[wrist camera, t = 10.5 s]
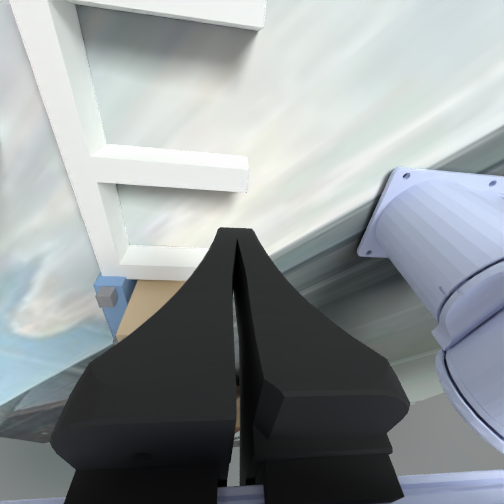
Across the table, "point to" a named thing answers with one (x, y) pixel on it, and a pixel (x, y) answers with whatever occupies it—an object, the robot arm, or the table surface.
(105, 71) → the table surface
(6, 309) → the table surface
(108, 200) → the white frame
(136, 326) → the beige tall block
